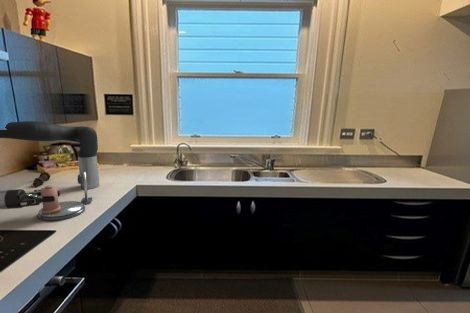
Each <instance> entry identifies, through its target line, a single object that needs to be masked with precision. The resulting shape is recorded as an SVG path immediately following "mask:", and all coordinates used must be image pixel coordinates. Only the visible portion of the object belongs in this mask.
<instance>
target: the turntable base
mask: <svg viewBox="0 0 470 313" xmlns="http://www.w3.org/2000/svg"><path fill="white" fill-rule="evenodd" d="M83 206H84V207H83V209H82V210H81V211H79V212H77V213H74V214H71V215H68V216H63V217H56V218H45V217H42V216H40V215H39V212H38V213H37V218H38V219H39V220H40V221H42V220H43V221H44V222H58V221H59V222H60V221H63V220H64V221H65V220H69V219H72V218H75V217H79V216H80V215H81V213H82V214H83V213H84V212H85V211H86V205H85V204H83ZM43 221H42V222H43Z"/></svg>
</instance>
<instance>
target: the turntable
mask: <svg viewBox="0 0 470 313" xmlns="http://www.w3.org/2000/svg"><path fill="white" fill-rule="evenodd" d="M58 203H59V205H60V206H61V210H60V211H58V212H55V213H51V214H43V213H42V208H41V209H39V211H38V213H39V215H40V216H42V217H45V218H56V217H63V216H68V215H71V214H74V213H77V212H79V211H81V210H82V209H83V207H84V206H85V205H84V204H83V203H81V201H77V200H75V201H74V200H67V201H58ZM83 205H84V206H83Z"/></svg>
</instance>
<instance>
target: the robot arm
mask: <svg viewBox="0 0 470 313" xmlns="http://www.w3.org/2000/svg"><path fill="white" fill-rule="evenodd" d="M9 122H10V123H8V124H7V125H6V127H5V128H6V129H7V130H0V139H10V140H11V139H12V140H21V141H33V142H56V141H66V142H68V141H69V142H75V143H78V144H79V150H78V151H77V162H78V169H79V170H78V172H79V174H83V173H82V172H85V173H86V183H87V190H88V189H96V188H99V187H100V176H99V175H100V174H99V173H100V172H99V166H98V164H99V163H98V150H99V149H98V148H99V145H98V141H99V140H98V135H97V131H96V130H95V129H94V128H93V127H91V126H90V127H89V126H85V125H84V126H83V125H81V126H68V125H67V126H65V125H59V124H56V123H51V122H47V121H46V122H45V121H37V120H35V121H33V120H24V121H22V120H21V121H12V122H11V121H9ZM83 189H84V183H83V184H82V190H83ZM57 194H58V198H59V197H60V196H61V192H60V191H59V190H57ZM54 201H55V197H54V196H44V197H42V195H41V189H34V190H33V191H29V192H26V191H25V190H24V189H22V188H21V189H20V188H18V189H4V190H2V189H1V190H0V210H13V209H22V208H24V207H33V206H34V207H35V206H40V205H41V204H43V203H44V202H54Z"/></svg>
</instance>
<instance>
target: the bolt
mask: <svg viewBox="0 0 470 313" xmlns="http://www.w3.org/2000/svg"><path fill="white" fill-rule="evenodd" d="M50 178H51V174H50V173H49V172H47V171H43V172H41V173H40V174H39V175H38V177H35V178H34V180H33V182H32V186H33V187H35V188H38V187H40V186H43V184H44V183H45V181H50Z"/></svg>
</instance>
